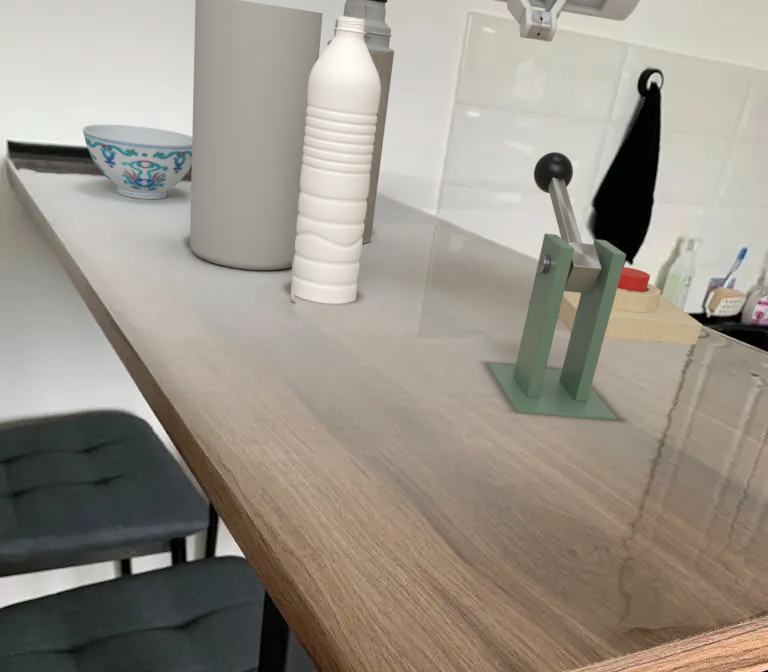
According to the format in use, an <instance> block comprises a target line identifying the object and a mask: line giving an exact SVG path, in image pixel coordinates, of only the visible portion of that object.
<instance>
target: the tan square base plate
mask: <svg viewBox="0 0 768 672" xmlns="http://www.w3.org/2000/svg"><path fill="white" fill-rule="evenodd" d="M580 296H581V293H578V292H569V291H564V294H563V298H562V302H561V307H560V311H559V315H558V318H559V319H560V321H562V323H563V324H564V325H565V326H566V327H567V328H568V329H569V330H570V331H571V332H572V328H573V324H574V320H575V316H576V312H577V308H578V304H579V300H580ZM702 327H703V324H702V323H701V322H699V321H698V320H697V319H695V318H694V317H693V316H691V315H690V314H689V313H687V312H686V311H684V310H683V309H681V308H680V307H679V306H677V304H675V303H674V302H672V301H670V300H669V299H668V298H667V297H666V296H664V295H662V290H661V289H659V288H658V287H656V286H655V285H653V284H650V283H648V286H647V289H646V292H637V291H629V290H624V289H620V288H617V291H616V295H615V299H614V303H613V306H612V310H611V314H610V317H609V321H608V325H607V329H606V332H605V336H604V338H611V339H622V340H630V341H631V340H632V341H640V342H641V341H642V342H651V343H652V342H653V343H661V342H662V343H663V342H664V343H675V344H684V345H694V346H696V345H697V342H698V340H699V337H700V333H701V330H702Z"/></svg>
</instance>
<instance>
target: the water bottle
mask: <svg viewBox="0 0 768 672" xmlns="http://www.w3.org/2000/svg"><path fill="white" fill-rule="evenodd" d="M337 19H338V25H337V27H338V28H335V27H334V29H336V35H335V37H333V38H332V39H331V40H332V41H331V42H330V44H329V45H328V44H327V47H326V48H325V49H324V50H323V52H322V53H321V55H319V59H318V60H317V61H316V63H315V64H314V66H313V68H312V70H311V73H310V76H309V81H308V95H307V103H308V106H307V109H306V113H307V116H306V120H305V121H306V126H305V133H306V135H305V136H304V143H305V145H304V146H303V152H304V154H303V157H302V161H303V164H302V168H301V176H300V189H301V192H300V194H299V200H298V211H299V214H298V217H297V225H296V232H297V236H296V239H295V251H296V253H295V255H294V261H293V262H292V271H293V274H292V276H291V285H290V286H291V287H290V299H291V301H292V302H293V303H294V304H296V303H297V302H296V297H298V298H301V299H304V300H307V301H310V302H314V303H321V304H332V305H333V304H334V305H335V304H337V305H339V304H340V305H341V304H348V303H351V302H354V301H355V300H356V299H357V294H358V278H359V274H360V267H361V266H360V263H361V262H360V259H361V257H362V251H363V244H362V241H363V238H362V234H363V232H364V220H365V216H366V210H367V201H366V198H367V197H368V193H369V184H370V173H369V172H370V171H371V161H372V152H373V149H374V146H373V143H374V140H375V136H374V133H375V131H376V126H375V124H376V122H377V116H376V114H377V113H378V108H379V102H380V94H381V84H380V78H379V75H378V72H377V70H376V67H375V65H374V63H373V60H372V58H371V56H370V53H369V51H368V49H367V46H366V44H365V42H364V33H366V32H363V31H364V29H365V20H363V19H357V18H351V17H344V16H343V15H338V16H337Z"/></svg>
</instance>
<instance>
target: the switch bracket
mask: <svg viewBox="0 0 768 672" xmlns="http://www.w3.org/2000/svg"><path fill="white" fill-rule="evenodd" d="M592 245H595V248H596V251H597V254H598V258H599V261H600V265H601V268H602V269H601V272H600V274H599V276H598V278H597V280H596V282H595V284H594V287H593V289H592V291H591V293H590V294H588V293H581V296H580V300H579V304H578V308H577V312H576V316H575V320H574V324H573V328H572V331H571V332H570V336H569V341H568V344H567V349H566V353H565V357H564V360H563V364H562V368H561V369H558V368H549V367H548V368H547V365H548V360H549V356H550V353H551V348H552V344H553V340H554V336H555V332H556V327H557V323H558V320H559V319H558V318H559V317H558V315H559V311H560V307H561V302H562V298H563V294H564V290H565V286H566V281H567V277H568V273H569V269H570V265H571V260H572V256H573V252H574V248H573V247H572V246H570V245H569V244H568V243H566V242H565V241H564V240H563V239H561V236H560V235H558V234H553V233H544V234H543V240H542V244H541V248H540V252H539V253H540V254H539V257H538V263H537V267H536V272H535V275H534V280H533V285H532V291H531V294H530V298H529V303H528V308H527V312H526V315H525V316H526V317H525V322H524V326H523V330H522V336H521V340H520V344H519V348H518V353H517V358H516V362H515V364H513V365H512V364H503V363H502V364H501V363H491V362H488V363H487V367H488V369H489V370H490V371H491V373H492V374H493V376H494V378H495V380H496V382H497V383H498V384H499V387H500V388H501V391H503V393H504V394H505V396H506V398H507V400H508V401H509V403H510V404H511V406H512V407H513V409H514V411H515V412H516V413H517V414H528V415H540V416H552V417H553V416H554V417H564V418H565V417H567V418H579V419H591V420H603V421H617V420H618V419H617V417H616V415H615V414H614V413H613V412H612V411H611V409H610V408H609V407H608V406H607V404H605V402H604V401H603V400H602V399H601V397H600V396H599V395H598V394H597V393H596V392H595V391H594V389H593V388H592V384H593V380H594V378H595V377H594V376H595V373H596V370H597V365H598V362H599V358H600V355H601V350H602V346H603V343H604V341H605V337H604V336H605V332H606V329H607V325H608V321H609V317H610V314H611V310H612V306H613V303H614V299H615V295H616V291H617V288H618V284H619V280H620V276H621V273H622V269H623V267H624V264H625V261H626V257H627V254H626V253H625V252H623V251H622V250H621V249H619V248H618V247H617V246H614V244H611V242H609V241H607V240H604V239H598V238H597V239H594V240H593V243H592Z"/></svg>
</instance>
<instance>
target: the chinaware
mask: <svg viewBox="0 0 768 672" xmlns="http://www.w3.org/2000/svg"><path fill="white" fill-rule="evenodd" d="M82 132H83V137H84V141H85V144H86V147H87V150H88V152H89V156H90V157H91V159H92V161H93V163H94V165H95V166H96V167H97V169H98V170H99V171H100V173H102V175H103V176H104V177H105V178H106V179H108V180H109V181H110V182H111V183H112V184H114V185H116V192H117V193H118V194H119V195H122V196H125V197H129V198H136V199H142V200H143V199H144V200H158V199H159V200H160V199H165V198H167V196H168V190H170V189H172V188H173V187H175V186H176V185H178V184H179V183H180V182H181V181H182V180H183V179H184V178H185V177H186V175H187V174H188V173H189V171H190V170H191V169H192V135H189V134H184V133H181V132H177V131H171V130H165V129H160V128H153V127H145V126H135V125H127V124H126V125H125V124H91V125H86V126H84V127H83V128H82Z"/></svg>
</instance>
